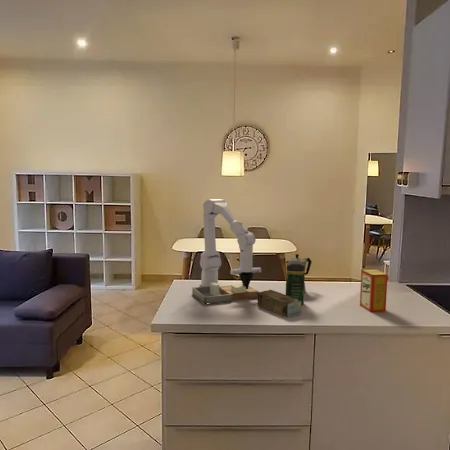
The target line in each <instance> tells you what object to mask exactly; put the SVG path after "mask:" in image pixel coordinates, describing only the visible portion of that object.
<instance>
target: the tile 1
mask: <svg viewBox="0 0 450 450" xmlns="http://www.w3.org/2000/svg"><path fill="white" fill-rule="evenodd" d="M219 286H220V284H219V283H218V284H217V283H215V282H214V283H210V294H212V295H213V296H217V295H219Z"/></svg>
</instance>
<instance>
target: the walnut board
mask: <svg viewBox="0 0 450 450" xmlns="http://www.w3.org/2000/svg"><path fill="white" fill-rule="evenodd" d="M231 285H232V284H230V285H224V286H223V285H221V286H220V285H219V286H220V287H219V292H220V293H221V294H223V295H227V294H231V295H232V296H231V302H232V301H240V300H249V299H250V300H251V299H258V292H260V291H259V290H257V289H255V288H254V287H251V286H250V285H249V286H248V289H246V292H243V293H234V292H233V291H231ZM242 285H243V283H242Z"/></svg>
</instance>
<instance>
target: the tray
mask: <svg viewBox="0 0 450 450" xmlns="http://www.w3.org/2000/svg"><path fill="white" fill-rule="evenodd" d="M192 294H193V295H192ZM192 294H191V295H192V296H194V297H195V296H196V297H197V298H198V299H199V300H198V299H197V298H196V297H195V298H196V299H197V300H198V301H200V300H201V301H202V302H203V303H204V304H206V305H208V304H207V303H215V304H220V303H219V302H224V303H231V302H232V301H231V296H232V295H231V294H227V295H223V294H221V293H220V292H219V295H217V296H213V295H212V294H210V286H206V287H202V286H197V287H196V286H195V287H192ZM201 301H200V302H201ZM202 302H201V303H202ZM203 303H202V304H203ZM204 304H203V305H204Z"/></svg>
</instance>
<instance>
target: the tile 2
mask: <svg viewBox="0 0 450 450" xmlns="http://www.w3.org/2000/svg"><path fill="white" fill-rule="evenodd" d="M242 284H243V283H242ZM242 284H241V283H240V284H230V285H231V291H233V292H234V293H243V292H246V287H245V286H244V285H242Z"/></svg>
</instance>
